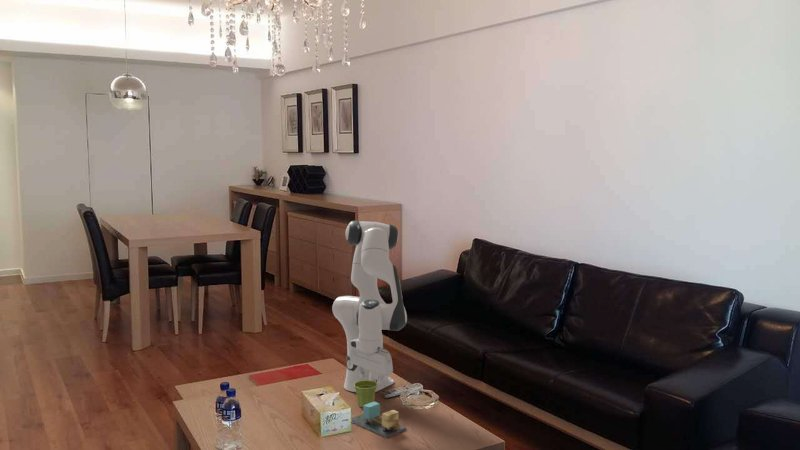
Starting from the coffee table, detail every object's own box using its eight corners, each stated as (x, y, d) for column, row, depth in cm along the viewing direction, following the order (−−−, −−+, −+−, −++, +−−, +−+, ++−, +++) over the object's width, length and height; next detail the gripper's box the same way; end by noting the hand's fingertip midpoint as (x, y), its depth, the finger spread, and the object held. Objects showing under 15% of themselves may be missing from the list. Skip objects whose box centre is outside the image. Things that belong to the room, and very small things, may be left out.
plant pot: (349, 407, 264) (349, 386, 264) (360, 399, 273) (359, 378, 272) (371, 411, 261) (371, 389, 260) (381, 402, 270) (381, 381, 269)
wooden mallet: (365, 413, 256) (365, 398, 255) (400, 428, 242) (400, 412, 242) (354, 417, 252) (354, 402, 251) (389, 433, 238) (389, 416, 238)
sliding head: (374, 416, 252) (374, 401, 252) (379, 419, 250) (379, 403, 249) (363, 420, 248) (363, 405, 248) (368, 423, 246) (368, 407, 246)
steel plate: (369, 414, 258) (369, 411, 258) (406, 429, 244) (406, 426, 244) (349, 421, 251) (349, 418, 251) (386, 438, 237) (386, 435, 237)
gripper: (396, 349, 241) (397, 385, 243) (359, 336, 255) (360, 371, 257) (383, 353, 236) (384, 390, 238) (346, 340, 251) (347, 376, 253)
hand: (371, 380), depth 248 cm, fingers open, 8 cm apart
